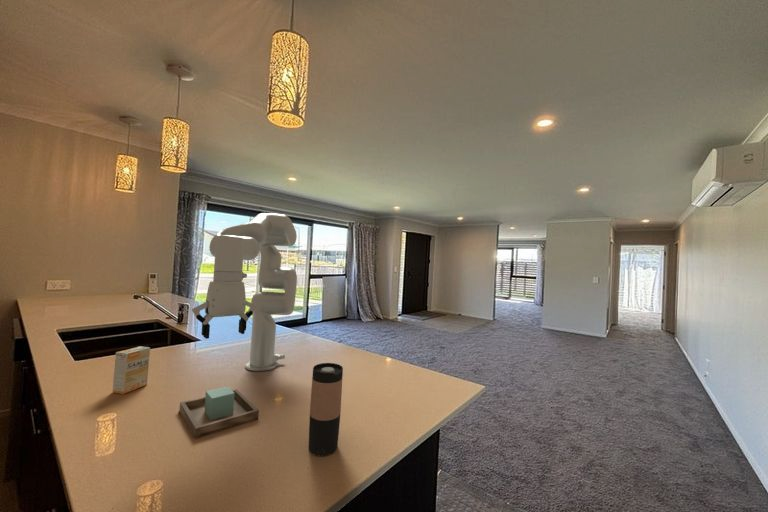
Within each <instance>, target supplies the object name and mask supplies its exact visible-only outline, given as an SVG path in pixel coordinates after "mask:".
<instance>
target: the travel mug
mask: <svg viewBox="0 0 768 512" xmlns="http://www.w3.org/2000/svg"><path fill="white" fill-rule="evenodd" d="M343 369H344V368H343V366H342V365H340V364H338V363H333V362H323V363H317V364H316V365H314V366H313V368H312V377H311V378H312V379H311V392H310V393H311V394H310V404H309V419H308V421H309V424H308V425H309V426H308V450H309V452H310V453H311V454H312V455H313V454H315V455H314V456H316V455H320V456H319V457H322V456H321V455H324V456H323V457H326V456H325V455H327V456H330V455H332V454H334V453H335V452H336V451H337V450H338V443H339V435H340V423H341V412H342V410H341V409H342V395H343V393H342V392H343V390H342V389H343V375H344V374H343ZM329 454H330V455H329Z"/></svg>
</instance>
